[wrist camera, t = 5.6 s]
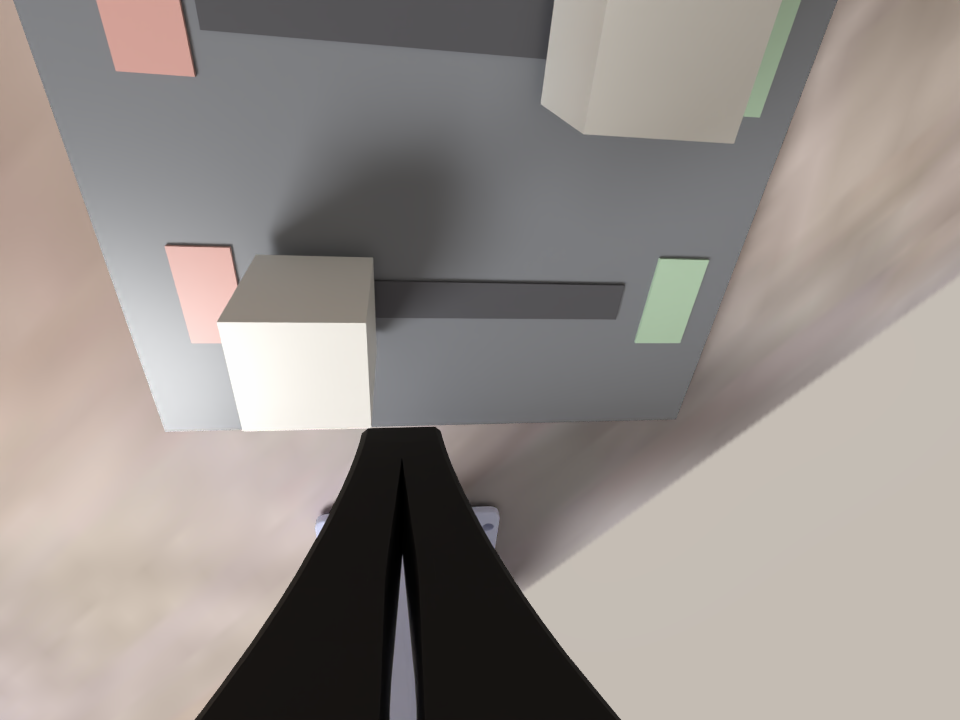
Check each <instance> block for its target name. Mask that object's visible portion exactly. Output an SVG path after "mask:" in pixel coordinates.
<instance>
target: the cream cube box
mask: <svg viewBox="0 0 960 720" xmlns="http://www.w3.org/2000/svg"><path fill="white" fill-rule="evenodd" d="M781 2H782V0H554V7H553V14H552V22H551V29H550V37H549V44H548V52H547V60H546V67H545V75H544V82H543V90H542V97H541V105H543V106H544V107H545V108H547V109H548V110H550V111H551V112H552V113H554V114H555V115H557V116H558V117H560V118H561V119H562V120H564V121H565V122H567V123H568V124H569V125H571V126H572V127H574V128H575V129H577V130H578V131H579V132H581V133H582V134H587V135H602V136H618V137H634V138H650V139H666V140H682V141H697V142H713V143H729V144H734V142H735V139H736V136H737V133H738V130H739V127H740V124H741V121H742V118H743V115H744V112H745V109H746V106H747V103H748V100H749V97H750V94H751V91H752V89H753V86H754V83H755V80H756V77H757V74H758V71H759V68H760V65H761V62H762V59H763V56H764V53H765V50H766V47H767V44H768V41H769V38H770V35H771V32H772V29H773V26H774V23H775V20H776V17H777V14H778V11H779V8H780V5H781Z"/></svg>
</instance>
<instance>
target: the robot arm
mask: <svg viewBox="0 0 960 720" xmlns="http://www.w3.org/2000/svg"><path fill="white" fill-rule="evenodd" d="M499 520H500V517H499V511H498V509H497V508H495V507H492V506H481V507H471V505H470V503H469V501H468V499H467V497H466V495H465V493H464V491H463V489H462V487H461V485H460V483H459V480H458V478H457V476H456V473H455V471H454V469H453V467H452V464H451V461H450V459H449V456H448V454H447V451H446V448H445V445H444V442H443V438H442V434H441V431H440V430H438V429H437V428H436V427H406V428H368V429H367V430H366V431H364V432H363V433H362V435H361V439H360V443H359V446H358V449H357V452H356V455H355V458H354V460H353V463H352V466H351V468H350V471H349V473H348V475H347V477H346V480H345V482H344V484H343V487H342V489H341V491H340V493H339V495H338V497H337V499H336V501H335V503H334V505H333V507H332V509H331V511H330V513H329V514H324V515H321V516H319V517H318V518H317V520H316V526H315V530H316V537H317V538H316V540H315V542H314V543H313V545H312V547H311V549H310V550H309V552H308V554H307V556H306V557H305V559H304V561H303V563H302V565H301V566H300V568H299V570H298V572H297V573H296V575H295V577H294V578H293V580H292V582H291V583H290V585H289V586H288V588H287V590H286V591H285V593H284V594H283V596H282V598H281V599H280V601H279V602H278V604H277V605H276V607H275V608H274V610H273V612H272V613H271V615H270V616H269V618H268V619H267V621H266V622H265V624H264V625H263V626H262V628H261V629H260V631H259V632H258V634H257V635H256V637H255V638H254V640H253V641H252V643H251V644H250V646H249V647H248V648H247V650H246V651H245V652H244V654H243V655H242V657H241V658H240V659H239V661H238V662H237V664H236V665H235V666H234V668H233V669H232V671H231V672H230V673H229V675H228V676H227V677H226V679H225V680H224V682H223V683H222V684H221V686H220V687H219V689H218V690H217V691H216V693H215V694H214V695H213V697H212V698H211V699H210V700H209V702H208V703H207V704H206V706H205V707H204V708H203V710H202V711H201V712H200V714H199V715H198V716H197V718H196V719H195V720H621V719H620V718H619V717H618V716H617V714H616V713H615V712H614V711H613V710H612V708H611V707H610V706H609V705H608V704H607V702H606V701H605V700H604V699H603V697H602V696H601V695H600V694H599V693H598V691H597V690H596V689H595V688H594V687H593V685H592V684H591V683H590V682H589V680H587V678H586V677H585V676H584V674H583V673H582V672H581V671H580V670H579V668H578V667H577V666H576V665H575V664H574V662H573V661H572V660H571V659H570V657H569V656H568V655H567V654H566V652H565V651H564V650H563V648H562V647H561V646H560V645H559V643H558V642H557V640H556V639H555V638H554V636H553V635H552V634H551V632H550V631H549V630H548V628H547V627H546V626H545V624H544V623H543V622H542V620H541V619H540V617H539V616H538V615H537V613H536V612H535V610H534V609H533V607H532V606H531V604H530V603H529V602H528V600H527V599H526V597H525V596H524V594H523V593H522V591H521V590H520V588H519V587H518V585H517V584H516V582H515V581H514V579H513V578H512V576H511V575H510V573H509V572H508V570H507V568H506V567H505V565H504V564H503V562H502V560H501V559H500V557H499V555H498V554H497V552H496V550H495V546H496V539H497V533H498V527H499Z"/></svg>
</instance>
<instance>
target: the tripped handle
mask: <svg viewBox="0 0 960 720" xmlns="http://www.w3.org/2000/svg"><path fill="white" fill-rule="evenodd" d="M217 326H218V330H219V334H220V338H221V343H222V347H223V351H224V355H225V359H226V364H227V368H228V372H229V376H230V380H231V384H232V389H233V393H234V397H235V401H236V405H237V410H238V414H239V418H240V422H241V426H242V431H281V430H322V429H362V428H371V426H372V411H373V397H374V383H375V368H376V354H377V344H376V319H375V293H374V267H373V257H334V256H293V255H255V257H254V259H253V260H252V262H251V264H250V266H249V267H248V269H247V271H246V273H245V274H244V276H243V278H242V279H241V281H240V283H239V285H238V286H237V288H236V290H235V291H234V293H233V295H232V297H231V298H230V300H229V302H228V304H227V305H226V307H225V309H224V310H223V312H222V314H221V316H220V317H219V319H218V321H217Z"/></svg>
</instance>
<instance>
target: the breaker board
mask: <svg viewBox="0 0 960 720" xmlns="http://www.w3.org/2000/svg"><path fill="white" fill-rule="evenodd" d="M13 1H14V4H15V6H16V9H17V12H18V15H19V18H20V21H21V24H22V26H23V29H24V32H25V35H26V38H27V41H28V43H29V46H30V49H31V52H32V55H33V58H34V60H35V63H36V66H37V69H38V72H39V75H40V78H41V80H42V83H43V86H44V89H45V92H46V95H47V97H48V100H49V103H50V106H51V109H52V112H53V114H54V117H55V120H56V123H57V126H58V129H59V131H60V134H61V137H62V140H63V143H64V146H65V149H66V151H67V154H68V157H69V160H70V163H71V166H72V168H73V171H74V174H75V177H76V180H77V183H78V185H79V188H80V191H81V194H82V197H83V200H84V203H85V205H86V208H87V211H88V214H89V217H90V220H91V222H92V225H93V228H94V231H95V234H96V237H97V239H98V242H99V245H100V248H101V251H102V254H103V256H104V259H105V262H106V265H107V268H108V271H109V274H110V276H111V279H112V282H113V285H114V288H115V291H116V293H117V296H118V299H119V302H120V305H121V308H122V310H123V313H124V316H125V319H126V322H127V325H128V327H129V330H130V333H131V336H132V339H133V342H134V345H135V347H136V350H137V353H138V356H139V359H140V362H141V364H142V367H143V370H144V373H145V376H146V379H147V381H148V384H149V387H150V390H151V393H152V396H153V399H154V401H155V404H156V407H157V410H158V413H159V416H160V418H161V421H162V424H163V427H164V430H165V432H171V431H213V430H242V426H241V422H240V418H239V414H238V410H237V405H236V401H235V397H234V393H233V389H232V384H231V380H230V376H229V372H228V368H227V364H226V359H225V355H224V351H223V347H222V343H221V338H220V334H219V330H218V326H217V321H218V319H219V317H220V316H221V314H222V312H223V310H224V309H225V307H226V305H227V304H228V302H229V300H230V298H231V297H232V295H233V293H234V291H235V290H236V288H237V286H238V285H239V283H240V281H241V279H242V278H243V276H244V274H245V273H246V271H247V269H248V267H249V266H250V264H251V262H252V260H253V259H254V257H255V255H293V256H334V257H373V267H374V293H375V319H376V344H377V354H376V368H375V383H374V397H373V411H372V426H371V427H379V426H420V425H462V424H503V423H545V422H586V421H628V420H669V419H676V418H677V415H678V413H679V410H680V407H681V405H682V402H683V400H684V397H685V394H686V392H687V389H688V387H689V384H690V382H691V379H692V376H693V374H694V371H695V369H696V366H697V363H698V361H699V358H700V356H701V353H702V350H703V348H704V345H705V343H706V340H707V337H708V335H709V332H710V330H711V327H712V325H713V322H714V319H715V317H716V314H717V312H718V309H719V306H720V304H721V301H722V299H723V296H724V293H725V291H726V288H727V286H728V283H729V280H730V278H731V275H732V273H733V270H734V268H735V265H736V262H737V260H738V257H739V255H740V252H741V249H742V247H743V244H744V242H745V239H746V236H747V234H748V231H749V229H750V226H751V223H752V221H753V218H754V216H755V213H756V211H757V208H758V205H759V203H760V200H761V198H762V195H763V192H764V190H765V187H766V185H767V182H768V179H769V177H770V174H771V172H772V169H773V166H774V164H775V161H776V159H777V156H778V153H779V151H780V148H781V146H782V143H783V141H784V138H785V135H786V133H787V130H788V128H789V125H790V122H791V120H792V117H793V115H794V112H795V109H796V107H797V104H798V102H799V99H800V96H801V94H802V91H803V89H804V86H805V84H806V81H807V78H808V76H809V73H810V71H811V68H812V65H813V63H814V60H815V58H816V55H817V52H818V50H819V47H820V45H821V42H822V39H823V37H824V34H825V32H826V29H827V27H828V24H829V21H830V19H831V16H832V14H833V11H834V8H835V6H836V3H837V1H838V0H782V2H781V5H780V8H779V11H778V14H777V17H776V20H775V23H774V26H773V29H772V32H771V35H770V38H769V41H768V44H767V47H766V50H765V53H764V56H763V59H762V62H761V65H760V68H759V71H758V74H757V77H756V80H755V83H754V86H753V89H752V91H751V94H750V97H749V100H748V103H747V106H746V109H745V112H744V115H743V118H742V121H741V124H740V127H739V130H738V133H737V136H736V139H735V142H734V144H729V143H713V142H697V141H682V140H666V139H650V138H634V137H618V136H602V135H587V134H582V133H581V132H579V131H578V130H577V129H575V128H574V127H572V126H571V125H569V124H568V123H567V122H565V121H564V120H562V119H561V118H560V117H558V116H557V115H555V114H554V113H552V112H551V111H550V110H548V109H547V108H545V107H544V106H543V105H541V97H542V90H543V82H544V75H545V67H546V60H547V52H548V44H549V37H550V29H551V22H552V14H553V7H554V0H13Z"/></svg>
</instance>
